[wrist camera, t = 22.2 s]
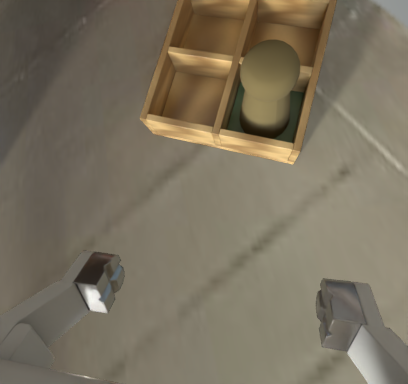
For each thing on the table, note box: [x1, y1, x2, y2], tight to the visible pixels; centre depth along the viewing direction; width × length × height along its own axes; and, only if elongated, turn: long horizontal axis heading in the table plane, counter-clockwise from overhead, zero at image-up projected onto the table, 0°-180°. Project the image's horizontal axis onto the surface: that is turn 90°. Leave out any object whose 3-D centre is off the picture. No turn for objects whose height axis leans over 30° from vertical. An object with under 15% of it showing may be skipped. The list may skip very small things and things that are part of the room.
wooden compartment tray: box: [140, 0, 337, 164], centre depth 34 cm, size 18×18×5 cm
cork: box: [239, 40, 300, 139], centre depth 28 cm, size 6×6×11 cm
